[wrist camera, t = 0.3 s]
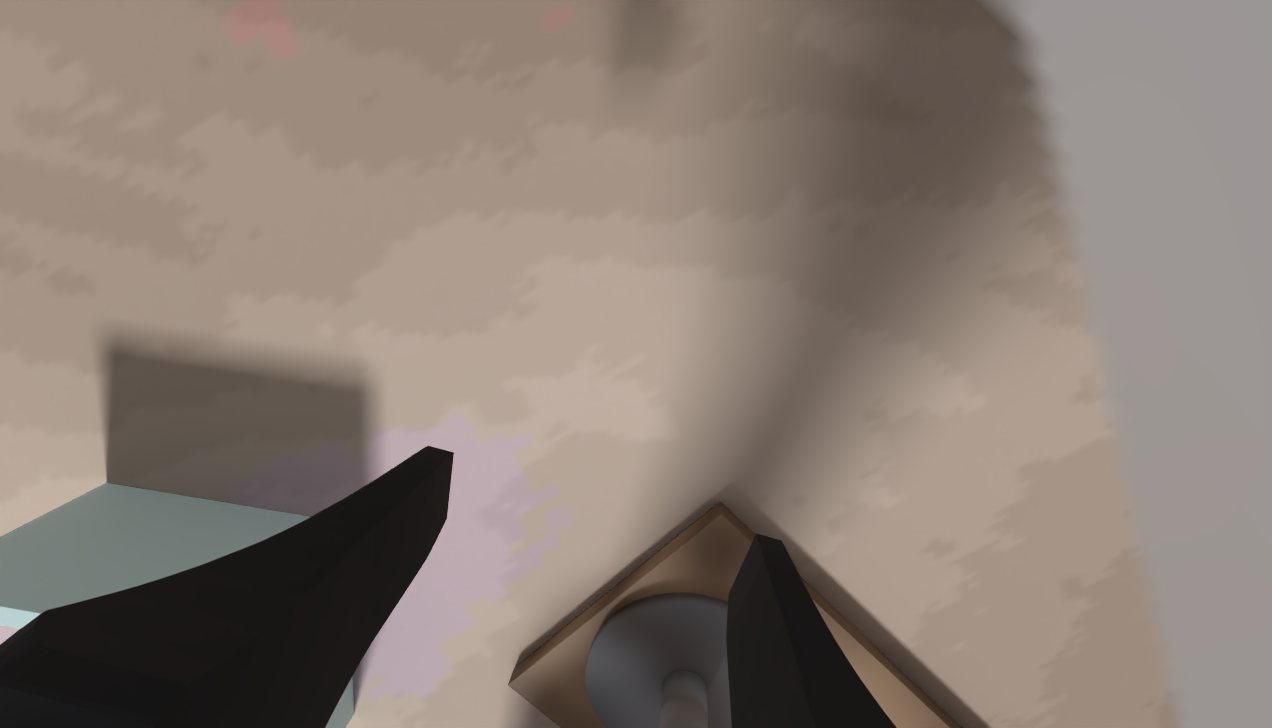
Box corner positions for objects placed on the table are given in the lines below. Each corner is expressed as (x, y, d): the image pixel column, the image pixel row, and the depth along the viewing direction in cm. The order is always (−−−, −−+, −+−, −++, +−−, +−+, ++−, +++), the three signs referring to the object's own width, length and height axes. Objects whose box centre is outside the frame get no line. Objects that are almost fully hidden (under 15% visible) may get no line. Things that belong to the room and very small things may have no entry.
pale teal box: (106, 482, 27) (-101, 588, 20) (346, 522, 27) (219, 645, 20) (143, 674, 31) (-20, 820, 24) (354, 713, 30) (251, 875, 23)
